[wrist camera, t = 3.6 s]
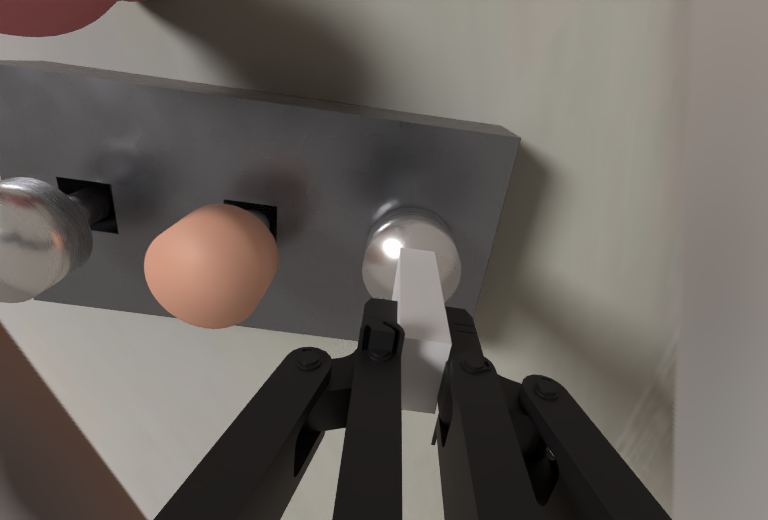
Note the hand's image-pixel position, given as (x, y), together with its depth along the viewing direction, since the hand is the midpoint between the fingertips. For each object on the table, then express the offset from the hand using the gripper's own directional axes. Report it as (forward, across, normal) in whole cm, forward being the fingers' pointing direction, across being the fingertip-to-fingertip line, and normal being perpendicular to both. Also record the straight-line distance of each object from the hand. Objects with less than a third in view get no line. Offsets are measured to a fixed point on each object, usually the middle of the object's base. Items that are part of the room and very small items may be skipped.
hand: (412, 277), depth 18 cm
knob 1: (+3, -16, 0) cm, 16 cm away
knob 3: (+6, 0, 0) cm, 6 cm away
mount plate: (+7, -8, 0) cm, 11 cm away
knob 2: (+3, -8, 0) cm, 9 cm away
